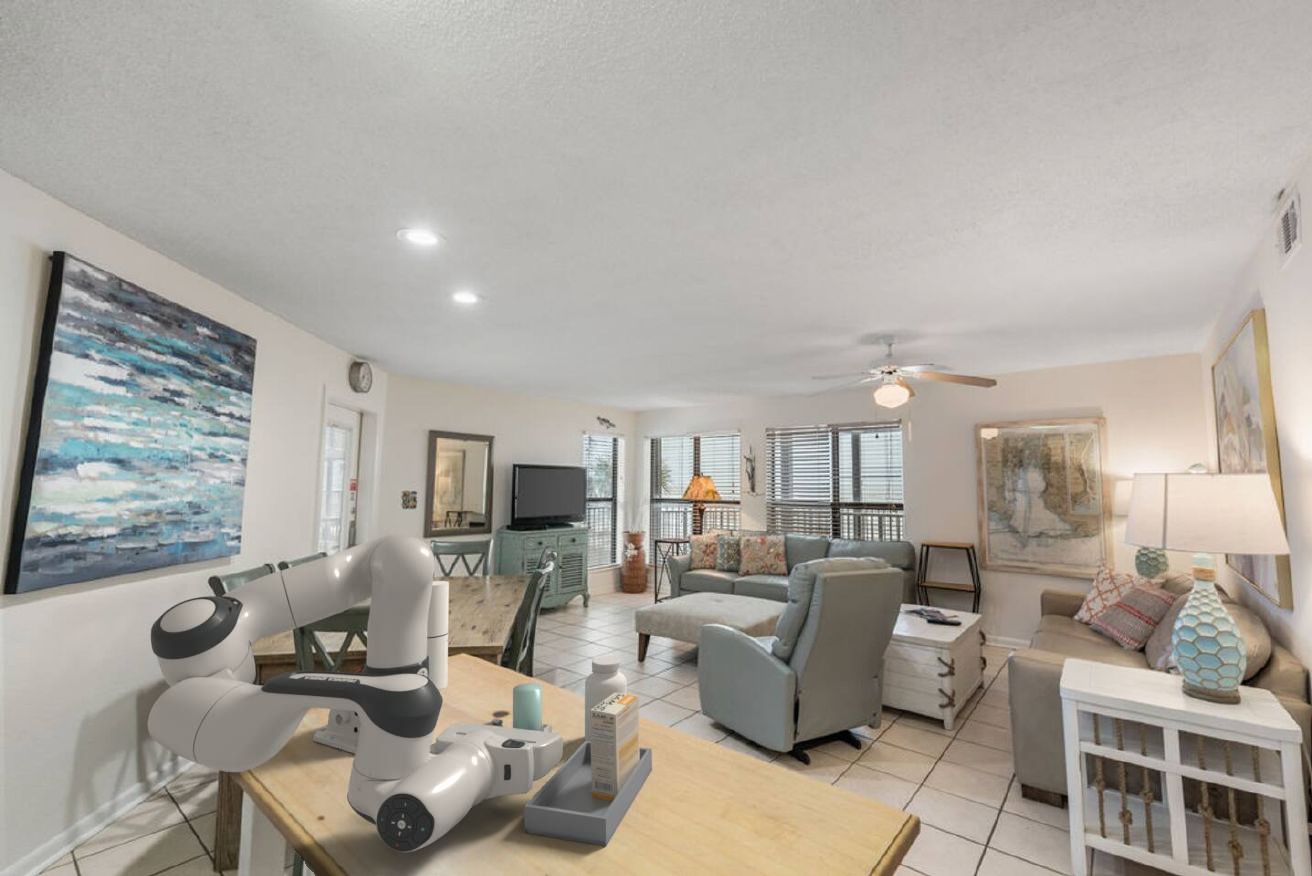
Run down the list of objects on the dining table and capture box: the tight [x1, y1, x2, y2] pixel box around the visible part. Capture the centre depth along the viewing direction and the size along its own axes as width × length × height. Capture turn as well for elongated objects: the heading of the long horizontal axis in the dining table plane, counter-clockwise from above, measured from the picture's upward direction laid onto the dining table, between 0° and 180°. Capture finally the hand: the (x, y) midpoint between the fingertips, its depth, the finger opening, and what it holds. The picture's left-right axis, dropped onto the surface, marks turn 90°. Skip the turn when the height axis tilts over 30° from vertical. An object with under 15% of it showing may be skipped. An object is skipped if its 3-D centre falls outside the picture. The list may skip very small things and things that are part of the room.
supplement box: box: [590, 693, 640, 802], centre depth 90 cm, size 8×5×13 cm, turn 156°
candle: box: [512, 682, 543, 731], centre depth 99 cm, size 5×5×13 cm
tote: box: [524, 740, 653, 847], centre depth 87 cm, size 12×21×4 cm, turn 164°
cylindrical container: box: [427, 580, 450, 691], centre depth 140 cm, size 7×7×25 cm
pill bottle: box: [584, 656, 628, 742], centre depth 108 cm, size 8×8×15 cm
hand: (523, 726), depth 97 cm, fingers open, 8 cm apart
